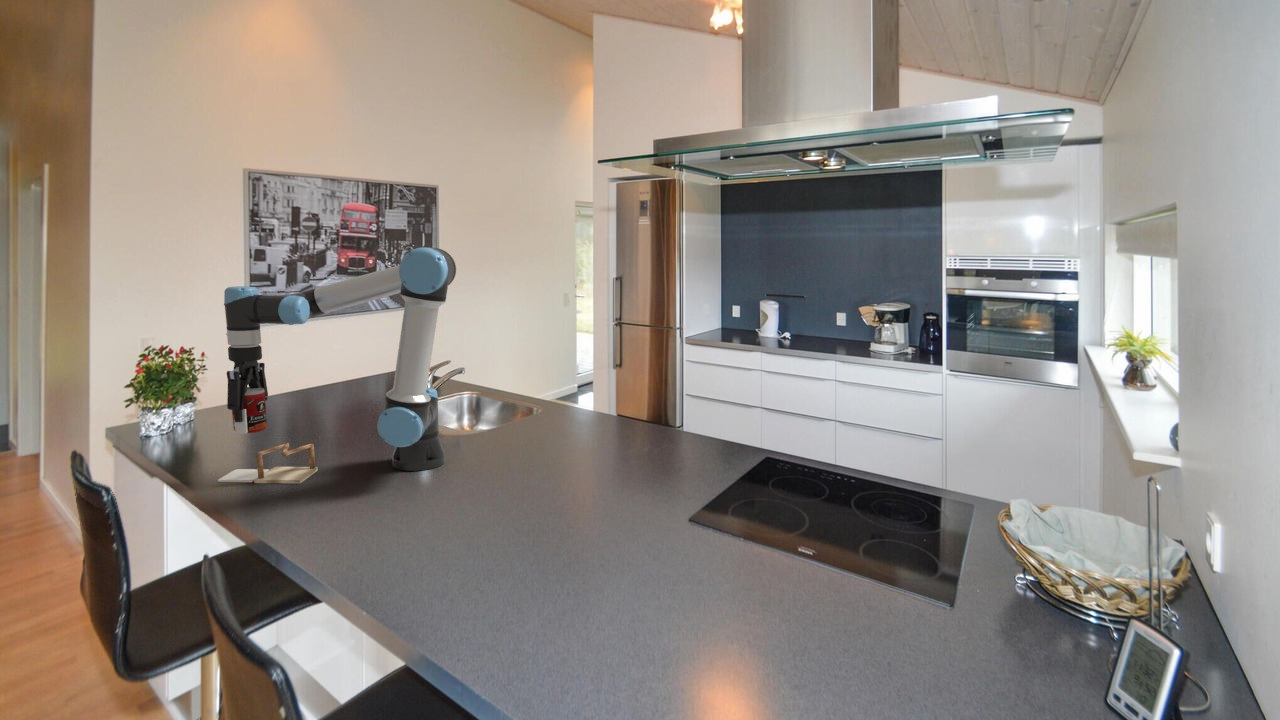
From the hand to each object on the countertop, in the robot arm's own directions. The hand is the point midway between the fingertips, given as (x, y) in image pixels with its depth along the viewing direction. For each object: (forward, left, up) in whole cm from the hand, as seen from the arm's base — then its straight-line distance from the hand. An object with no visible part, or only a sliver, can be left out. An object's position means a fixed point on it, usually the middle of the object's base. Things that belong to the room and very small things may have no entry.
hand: (250, 428), depth 168 cm
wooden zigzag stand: (-7, -3, -15) cm, 17 cm away
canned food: (0, 0, 0) cm, 0 cm away
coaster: (+4, -2, -15) cm, 15 cm away
